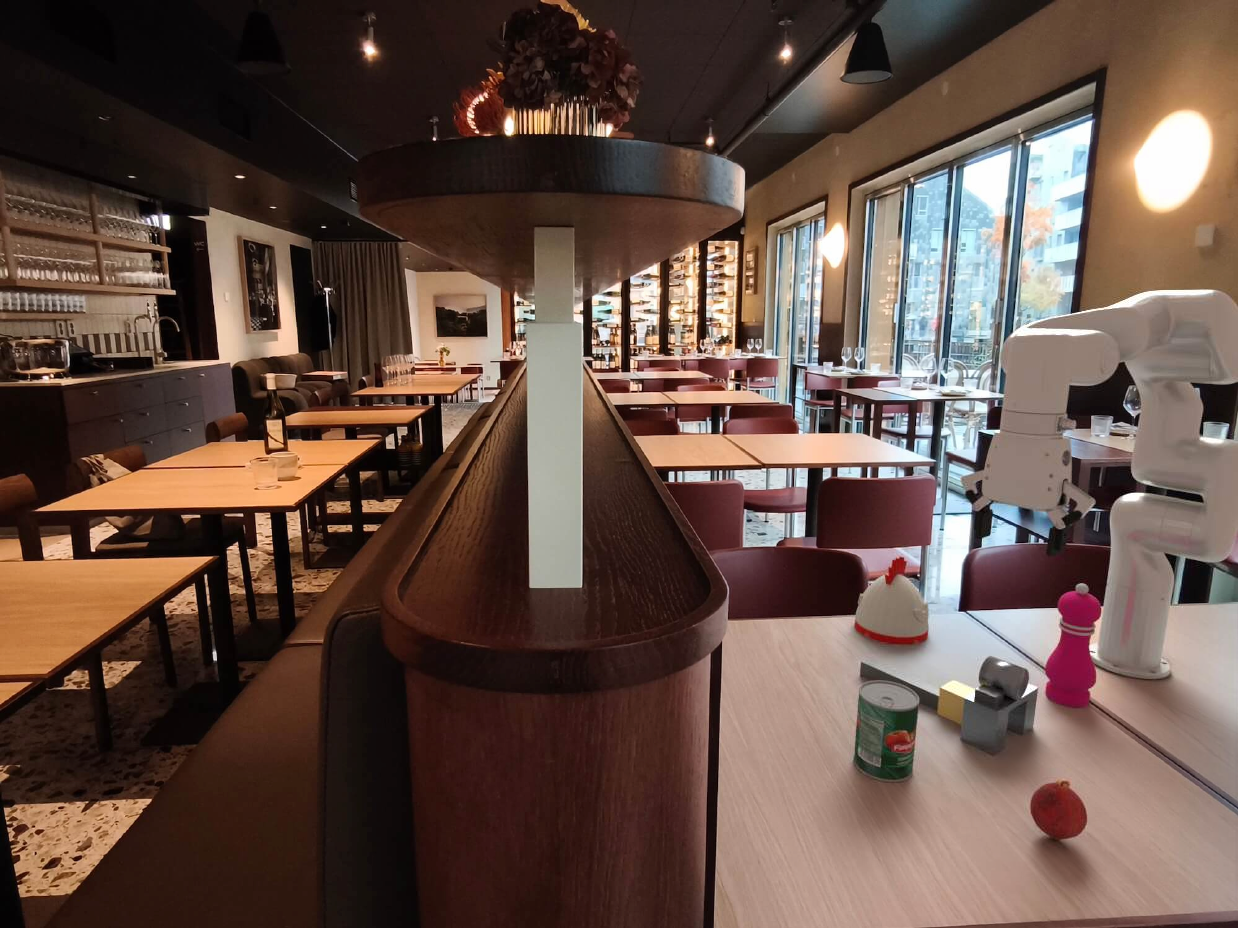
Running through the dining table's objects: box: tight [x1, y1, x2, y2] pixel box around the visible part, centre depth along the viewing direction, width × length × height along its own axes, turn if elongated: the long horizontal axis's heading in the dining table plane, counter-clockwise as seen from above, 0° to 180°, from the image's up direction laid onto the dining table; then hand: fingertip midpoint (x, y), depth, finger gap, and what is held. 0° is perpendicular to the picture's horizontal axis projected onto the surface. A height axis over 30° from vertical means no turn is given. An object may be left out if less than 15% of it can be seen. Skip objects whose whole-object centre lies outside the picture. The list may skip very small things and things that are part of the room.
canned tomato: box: [853, 680, 920, 783], centre depth 102 cm, size 8×8×11 cm
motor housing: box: [959, 655, 1039, 756], centre depth 109 cm, size 12×5×12 cm, turn 126°
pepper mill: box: [1044, 583, 1102, 708], centre depth 119 cm, size 7×7×20 cm
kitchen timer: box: [854, 556, 930, 646], centre depth 146 cm, size 14×14×15 cm
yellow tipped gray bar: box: [859, 657, 976, 726], centre depth 121 cm, size 4×20×5 cm, turn 36°
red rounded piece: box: [1029, 777, 1088, 841], centre depth 88 cm, size 6×6×8 cm
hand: (1016, 545), depth 102 cm, fingers open, 9 cm apart
